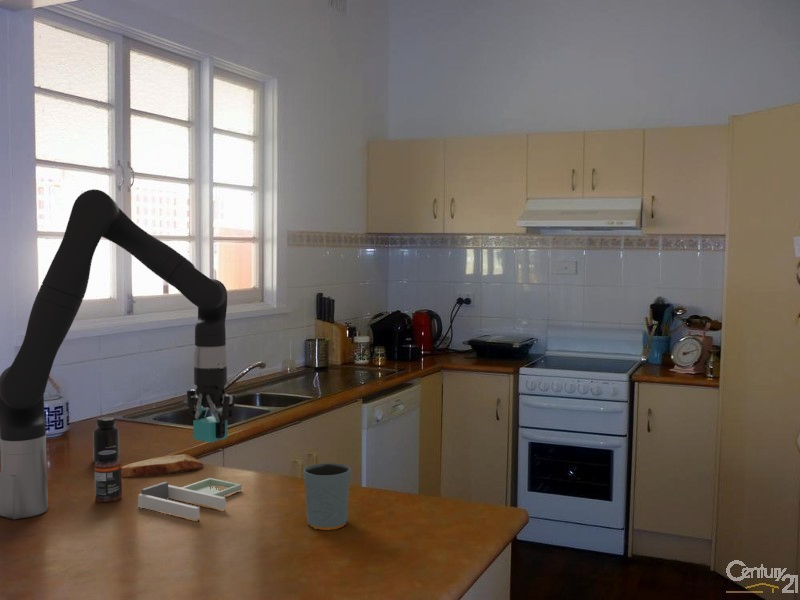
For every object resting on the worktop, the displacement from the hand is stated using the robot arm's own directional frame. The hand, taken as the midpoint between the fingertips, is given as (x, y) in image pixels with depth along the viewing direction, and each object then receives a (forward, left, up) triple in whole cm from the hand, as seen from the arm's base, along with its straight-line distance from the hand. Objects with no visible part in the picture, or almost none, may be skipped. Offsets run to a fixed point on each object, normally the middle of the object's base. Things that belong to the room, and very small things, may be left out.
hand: (210, 435), depth 186 cm
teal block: (0, 0, -1) cm, 1 cm away
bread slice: (+11, +29, -16) cm, 35 cm away
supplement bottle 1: (+9, +50, -15) cm, 53 cm away
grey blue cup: (+1, -33, -15) cm, 37 cm away
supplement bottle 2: (-13, +21, -15) cm, 29 cm away
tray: (+3, +3, -15) cm, 16 cm away
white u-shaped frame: (-9, 0, -15) cm, 18 cm away
